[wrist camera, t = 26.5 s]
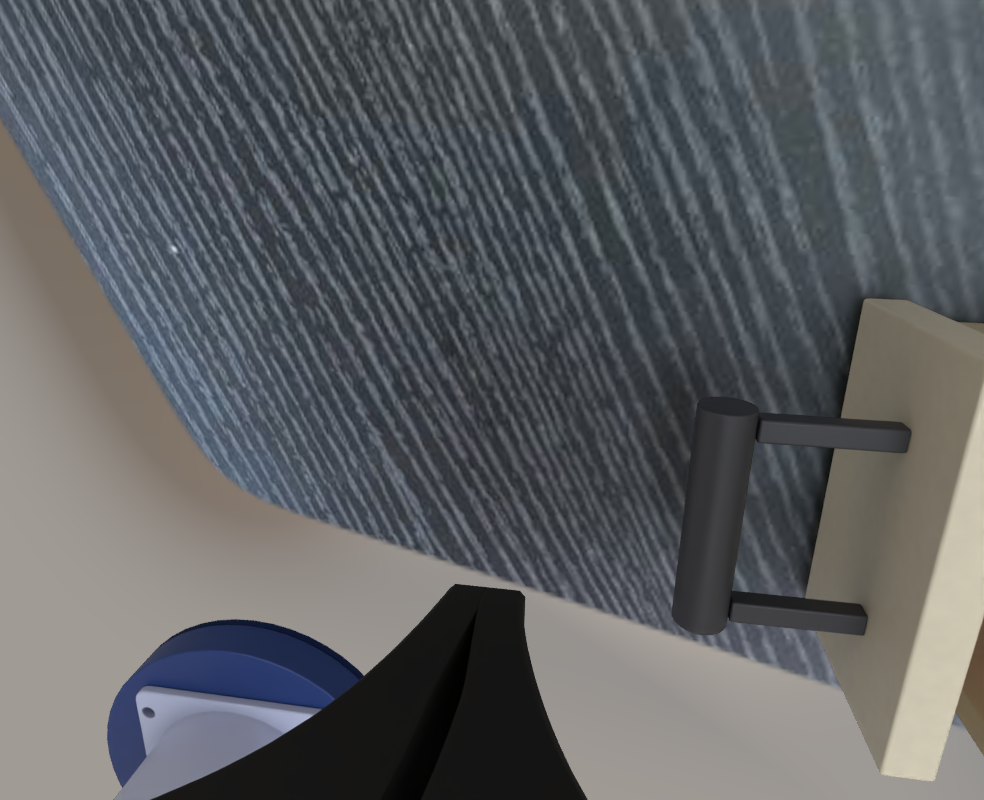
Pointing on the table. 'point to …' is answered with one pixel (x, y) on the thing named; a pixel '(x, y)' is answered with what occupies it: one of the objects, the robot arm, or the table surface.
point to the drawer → (868, 532)
